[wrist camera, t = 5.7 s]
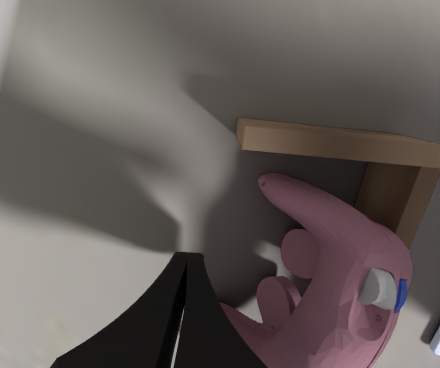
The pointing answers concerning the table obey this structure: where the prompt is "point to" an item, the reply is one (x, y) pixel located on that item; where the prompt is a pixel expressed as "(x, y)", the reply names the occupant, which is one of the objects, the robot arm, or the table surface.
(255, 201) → the table surface
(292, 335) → the video game controller
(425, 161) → the docking cradle
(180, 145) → the table surface
